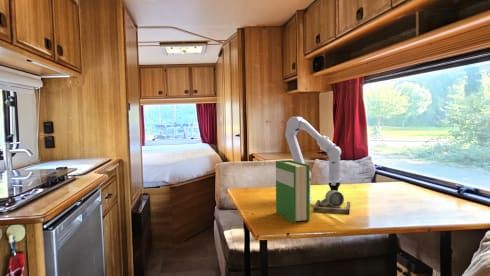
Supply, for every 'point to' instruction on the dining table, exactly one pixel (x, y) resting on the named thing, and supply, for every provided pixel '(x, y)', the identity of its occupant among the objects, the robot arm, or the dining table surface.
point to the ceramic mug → (333, 199)
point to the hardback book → (293, 190)
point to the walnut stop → (331, 209)
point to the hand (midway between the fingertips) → (334, 196)
